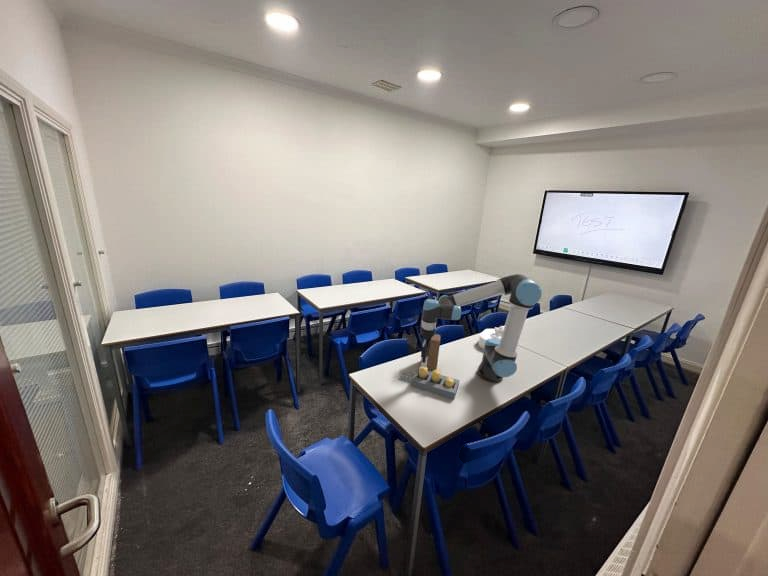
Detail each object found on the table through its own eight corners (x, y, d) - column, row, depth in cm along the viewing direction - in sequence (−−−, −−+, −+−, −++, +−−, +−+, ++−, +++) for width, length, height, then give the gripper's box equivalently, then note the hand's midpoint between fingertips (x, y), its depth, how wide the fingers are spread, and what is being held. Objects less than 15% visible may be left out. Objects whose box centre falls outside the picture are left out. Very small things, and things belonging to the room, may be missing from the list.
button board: (458, 386, 168) (459, 380, 167) (454, 399, 156) (455, 393, 155) (417, 374, 177) (418, 368, 176) (410, 386, 165) (411, 380, 164)
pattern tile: (414, 376, 174) (414, 375, 174) (410, 382, 168) (410, 381, 168) (403, 373, 177) (403, 372, 177) (399, 379, 171) (399, 378, 171)
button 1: (453, 386, 165) (454, 378, 163) (451, 391, 160) (453, 383, 159) (445, 384, 166) (446, 376, 165) (443, 388, 162) (444, 380, 161)
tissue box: (486, 335, 235) (489, 316, 230) (519, 345, 221) (524, 326, 216) (474, 346, 216) (478, 325, 211) (510, 358, 202) (514, 337, 197)
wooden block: (436, 371, 182) (440, 341, 176) (420, 368, 183) (423, 338, 177) (437, 362, 191) (440, 334, 185) (421, 360, 193) (424, 331, 187)
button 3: (427, 375, 169) (428, 367, 168) (425, 379, 165) (426, 371, 164) (420, 372, 171) (420, 365, 170) (417, 376, 167) (418, 369, 165)
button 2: (440, 378, 167) (441, 371, 165) (438, 383, 162) (439, 375, 161) (432, 376, 168) (433, 368, 167) (430, 380, 164) (431, 372, 163)
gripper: (424, 322, 166) (420, 359, 173) (417, 330, 155) (413, 370, 162) (438, 324, 164) (433, 362, 171) (431, 334, 152) (427, 374, 159)
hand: (423, 366), depth 166 cm, fingers closed
